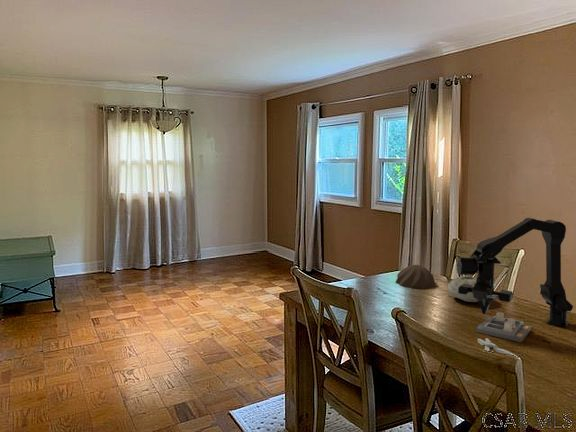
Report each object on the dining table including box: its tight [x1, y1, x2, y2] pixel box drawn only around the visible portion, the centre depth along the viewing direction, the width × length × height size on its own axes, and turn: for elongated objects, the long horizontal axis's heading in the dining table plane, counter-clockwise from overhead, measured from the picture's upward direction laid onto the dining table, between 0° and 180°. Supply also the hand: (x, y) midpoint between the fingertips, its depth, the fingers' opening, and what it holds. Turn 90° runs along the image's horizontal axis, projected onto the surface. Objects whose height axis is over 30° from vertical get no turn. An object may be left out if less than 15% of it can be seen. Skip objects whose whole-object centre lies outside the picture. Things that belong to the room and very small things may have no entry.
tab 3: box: [508, 317, 517, 328], centre depth 158 cm, size 3×3×4 cm
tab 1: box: [495, 311, 505, 322], centre depth 164 cm, size 3×3×4 cm
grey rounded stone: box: [447, 275, 479, 303], centre depth 196 cm, size 18×18×10 cm
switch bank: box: [475, 315, 532, 343], centre depth 159 cm, size 14×15×3 cm
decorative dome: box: [395, 264, 436, 290], centre depth 224 cm, size 19×20×10 cm
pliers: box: [477, 337, 519, 357], centre depth 143 cm, size 10×2×15 cm
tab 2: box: [503, 321, 514, 332], centre depth 154 cm, size 3×3×4 cm
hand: (484, 314), depth 168 cm, fingers closed
